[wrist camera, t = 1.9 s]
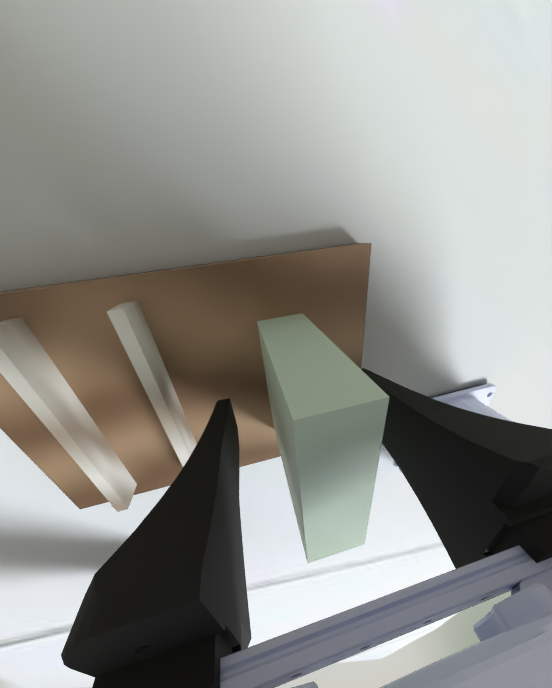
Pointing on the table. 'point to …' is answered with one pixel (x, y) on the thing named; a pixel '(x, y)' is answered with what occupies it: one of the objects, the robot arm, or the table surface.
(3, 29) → the table surface
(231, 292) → the track base
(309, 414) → the door panel
